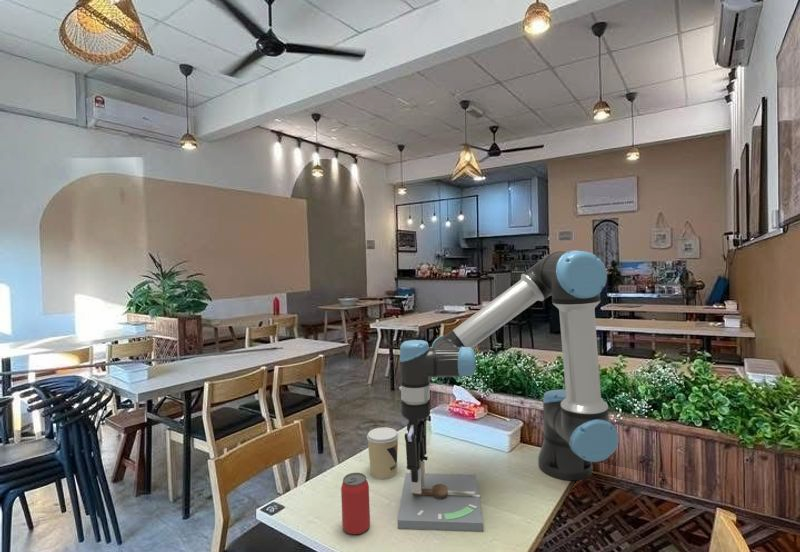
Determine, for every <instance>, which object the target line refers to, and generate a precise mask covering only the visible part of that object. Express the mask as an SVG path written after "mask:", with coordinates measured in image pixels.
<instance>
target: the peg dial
mask: <svg viewBox="0 0 800 552" xmlns="http://www.w3.org/2000/svg"><path fill="white" fill-rule="evenodd" d="M420 468H421V460H420ZM421 490H422V493H421V494H417V493H412V494H413V495H415V496H419V495H433V496H434V497H436V498H445V497H446V496H447V495H448V494H450V495H475V492H469V491H448V488H447V486H445V485H443V484H437V485H434V486H433V487H432V489H422V472H421Z"/></svg>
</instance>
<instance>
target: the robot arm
mask: <svg viewBox="0 0 800 552" xmlns="http://www.w3.org/2000/svg"><path fill="white" fill-rule="evenodd" d="M607 281H608V274H607V268H606V266H605V264H604V262H603V261H602V260H601V258H599V257H598V256H597V255H595V254H594V253H591V252H589V251H585V250H584V251H583V250H575V249H574V250H568V251H567V250H564V251H554V252H552V253H549V254H548V255H546V256H544V257H543V258H541V259H540V260H539V261H538V262H536V263H535V264H534V265H532V266H531V267H530V268H528V269H527V270H526V271H524V273H522V274H521V275H520V279H519V280H518V281H517V282H515V283H514V284H513V285H512V286H510V287H509V288H507V290H505V291H504V292H502V293H501V294H499V295H498V296H497V297H495V298H494V299H493V300H492V301H490V302H489V303H487V304H486V305H485V306H483V307H482V308H481V309H479V310H478V311H477V312H476V313H474V314H472V315H471V316H469V317H468V318H467V319H466V320H464V321H463V322H461V324H459V325H458V326H456V327H455V328H454V329H453V330H450V332H448V333H446V334H445V335H442V336H438V337H437V338H435V339H434V341H433V342H432V345H431V347H430V346H429V343H428V341H426V340H423V339H418V340H417V339H410V340H409V339H408V340H404V341H403V342H402V343H401V344H400V346H399V368H400V369H399V372H400V386H399V388H398V389H399V391H400V397H401V400H402V401H401V404H400V405H401V408H400V409H401V410H400V411H401V417H403V418H405V419H407V421H408V422H407V423H406V430H407V432H405V433H404V441H405V451H406V453H405V455H406V469H407V470H408V471H409V473H410V484H411V493H417V494H421V493H422V490H421V472H422V486H423V487H425V474H426V472H425V471H426V469H425V461H428V456H426V455H427V453H428V451H427V423H428V422H427V421H428V417H430V415H431V401H430V399H431V391H430V390H431V389H430V388H431V387H430V386H431V385H430V379H431V378H458V377H459V378H464V377H470V376H474V374H475V373H476V370H477V369H476V366H477V362H476V354H475V350H474V349H473V348H475V347H476V346H478V345H479V344H480V343H481V342H483V341H484V340H485V339H486V338H489V337H490V336H491V335H492V334H493V333H495V332H496V331H497V330H499V329H500V328H502V327H503V326H504V325H505V324H508V323H509V322H510V321H512V320H513V319H514V318H516V317H517V316H518V315H520V314H521V313H523V311H525V310H526V309H528V308H529V307H531V306H532V305H534V304H535V303H536V302H537V301H538V302H539V301H540V302H543V301H545V300H546V299H547V298H550V296H551V298H552V299H551V301H552V305H553V306H555V307H556V308H557V309H558V311H559V324H560V327H559V328H560V336H561V337H560V339H561V348H562V349H561V350H562V352H561V353H562V363H563V377H564V388H565V389H551V390H547V391H545V392H544V394H543V402H542V404H543V406H542V409H543V410H542V412H543V416H542V417H543V442H542V444H541V448H540V450H539V453H538V456H537V461H538V463H537V464H538V465H537V466H538V467H539V469H540V471H542V472H543V473H545V474H546V475H549V476H550V477H553V478H556V479H560V480H564V481H582V480H585V479H588V478H590V477H591V476H592V475H593V472H594V470H593V468H594V466H593V463H598V462H602V461H605V460H607V459H608V458H610V457H611V455H612V454H614V453H615V452H616V450H617V448H618V447H619V441H620V440H619V439H620V438H619V437H620V436H619V432H618V431H617V429H616V427H615V426H614V425H613V424H612V423H611V422H610V414H609V411H610V410H609V405H608V403H607V402H606V401H605V400H604V399H602V393H601V392H602V391H601V379H600V378H601V377H600V366H599V364H600V363H599V353H598V337H597V325H596V323H597V322H596V314H595V313H596V311H595V308H597V306H598V305H599V304H600V303H601V292H602V290H603V289H604V288H605V287H606V284H607ZM420 460H421V468H420Z"/></svg>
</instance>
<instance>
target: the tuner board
mask: <svg viewBox="0 0 800 552" xmlns="http://www.w3.org/2000/svg"><path fill="white" fill-rule="evenodd" d="M403 481H404V482H403V488H402V493H401V498H400V503H399V510H398V516H397V529H398V530H399V529H402V530H403V529H404V530H431V531H432V530H435V531H437V530H438V531H454V532H455V531H458V532H459V531H462V532H484V521H483V515H482V514H483V513H482V506H481V502H480V498H481V494H479V488H478V481H477V475H476V474H469V473H468V474H462V473H461V474H460V473H459V474H458V473H425V487H423V486H422V489H432V487H433V486H434V485H437V484H443V485H445V486H447V488H448V491H469V492H475V495H450V494H448V495H447V496H446V497H445V498H436V497H434V496H433V495H419V496H415V495H413V494H412V493H411V484H410V472H406V473H405V475H404V480H403Z"/></svg>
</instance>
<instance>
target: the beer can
mask: <svg viewBox="0 0 800 552" xmlns="http://www.w3.org/2000/svg"><path fill="white" fill-rule="evenodd" d="M340 492H341V493H340V494H341V495H340V497H341V514H342V515H341V518H342V519H341V520H342V522H341V523H342V528H343V531H344V532H345V533H347V534H350V535H360V534H362V533H366V531H368V529H369V528H370V526H371V513H370V511H371V510H370V509H371V508H370V485H369V483H368V480H367V476H366V475H365V474H364V473H362V472H361V473H360V472H350V473H347V474H346V475H345V476H344V477H343V478H342V484H341V488H340Z"/></svg>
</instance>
